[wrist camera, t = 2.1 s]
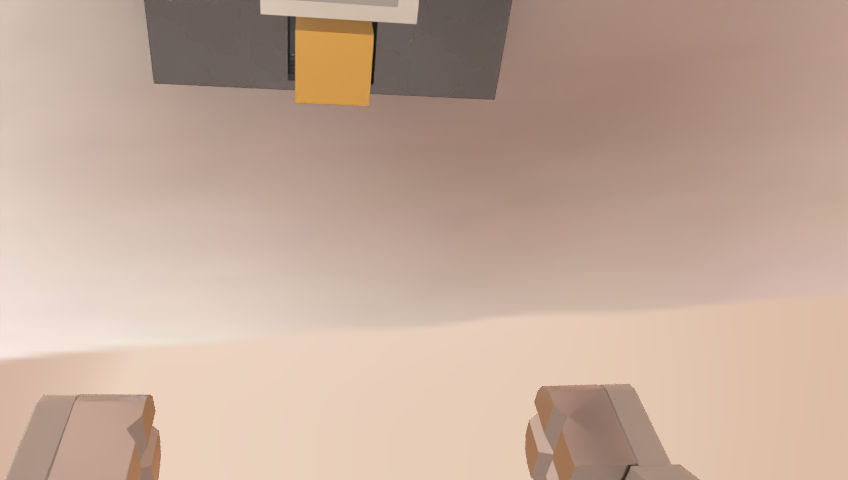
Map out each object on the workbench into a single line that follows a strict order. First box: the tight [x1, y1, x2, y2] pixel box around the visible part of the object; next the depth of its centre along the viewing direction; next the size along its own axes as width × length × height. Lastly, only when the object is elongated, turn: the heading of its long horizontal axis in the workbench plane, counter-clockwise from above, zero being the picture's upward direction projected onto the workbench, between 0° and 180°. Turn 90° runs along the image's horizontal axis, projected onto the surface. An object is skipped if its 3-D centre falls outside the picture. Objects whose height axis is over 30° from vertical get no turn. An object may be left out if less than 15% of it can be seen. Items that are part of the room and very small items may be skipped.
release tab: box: [295, 16, 374, 106], centre depth 24 cm, size 2×2×4 cm
